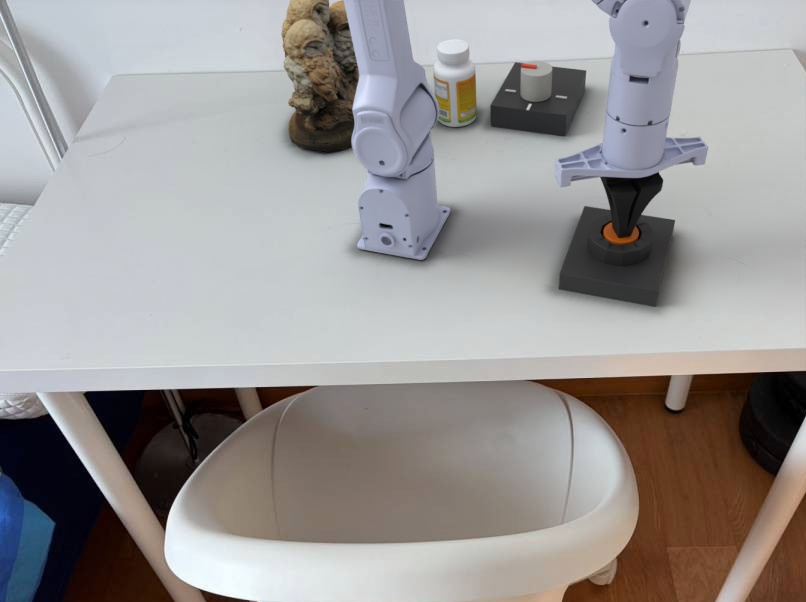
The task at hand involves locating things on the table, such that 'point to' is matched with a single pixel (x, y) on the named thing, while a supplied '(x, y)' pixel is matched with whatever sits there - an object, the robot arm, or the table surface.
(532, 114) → the timer panel
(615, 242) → the button
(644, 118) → the robot arm
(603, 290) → the housing
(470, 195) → the table surface
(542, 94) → the timer dial
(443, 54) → the supplement bottle
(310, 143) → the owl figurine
